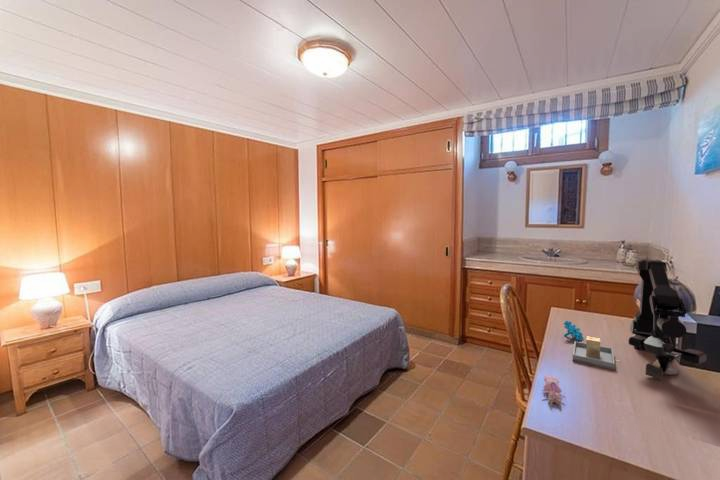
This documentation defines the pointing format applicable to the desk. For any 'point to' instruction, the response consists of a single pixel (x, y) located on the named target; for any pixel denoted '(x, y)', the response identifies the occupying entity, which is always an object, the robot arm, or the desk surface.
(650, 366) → the crank lever
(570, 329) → the blue branched piece
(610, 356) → the stop tray
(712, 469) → the desk surface
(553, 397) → the rabbit figure
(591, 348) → the stop block
